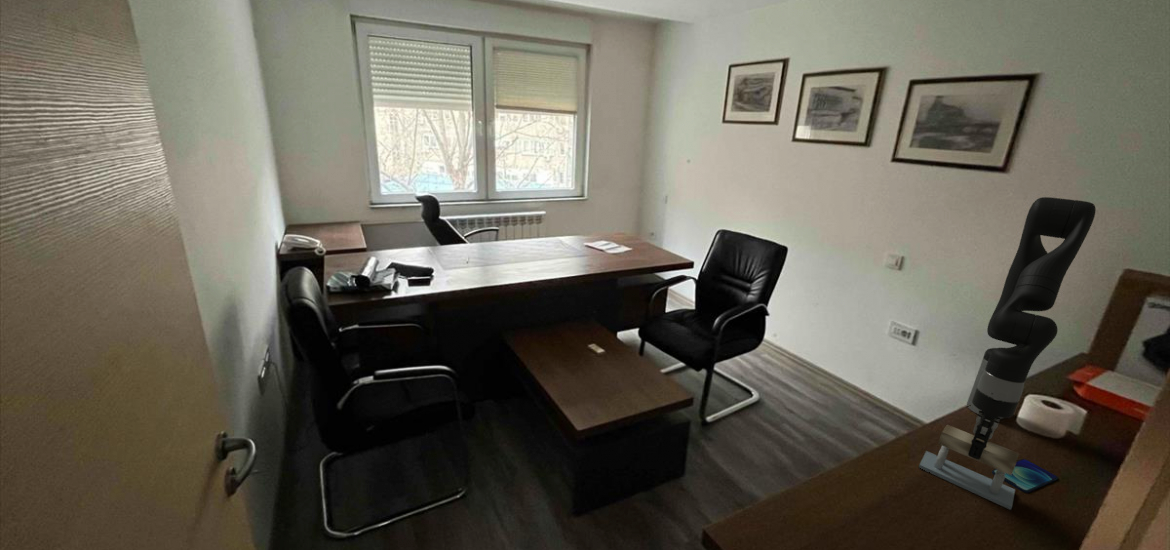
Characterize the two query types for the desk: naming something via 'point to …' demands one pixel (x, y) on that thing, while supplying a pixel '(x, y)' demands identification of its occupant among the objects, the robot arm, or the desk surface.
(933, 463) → the peg rack
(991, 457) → the birch plank
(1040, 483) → the smartphone
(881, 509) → the desk surface
